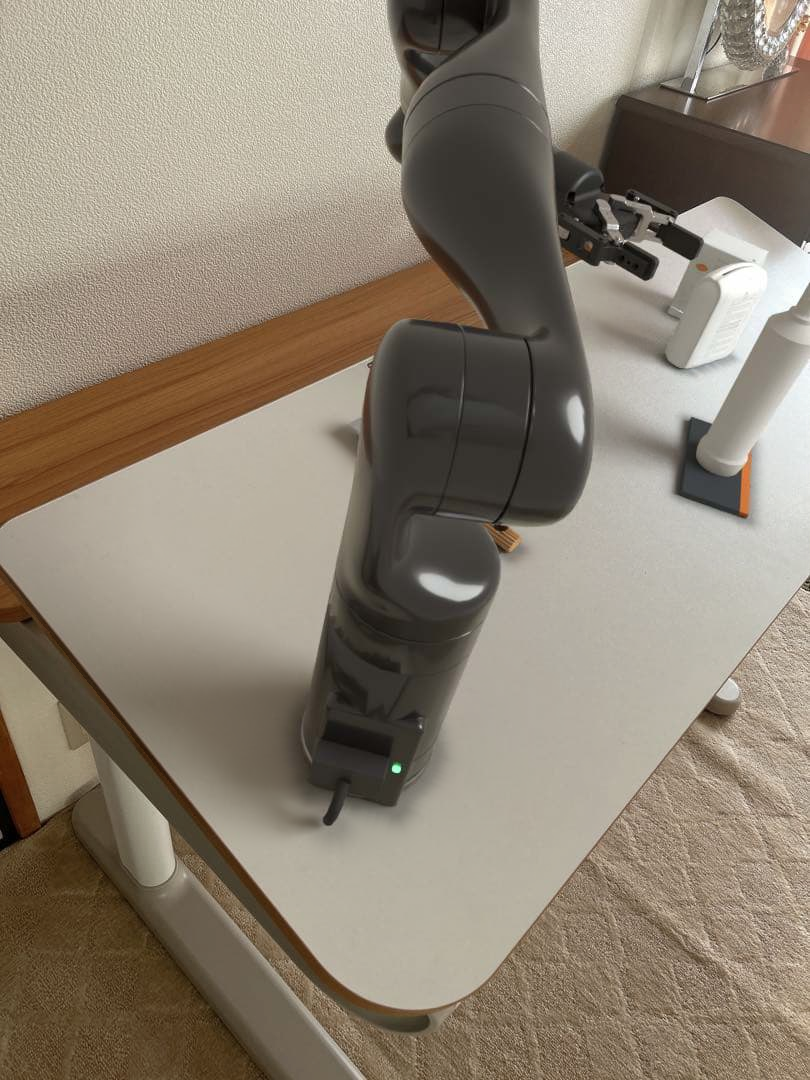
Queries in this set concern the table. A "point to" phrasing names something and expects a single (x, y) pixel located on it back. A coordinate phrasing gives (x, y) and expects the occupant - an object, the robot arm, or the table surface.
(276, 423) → the table surface
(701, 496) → the mat
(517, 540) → the paintbrush
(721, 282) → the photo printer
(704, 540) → the table surface
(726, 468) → the bottle
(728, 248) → the small box
